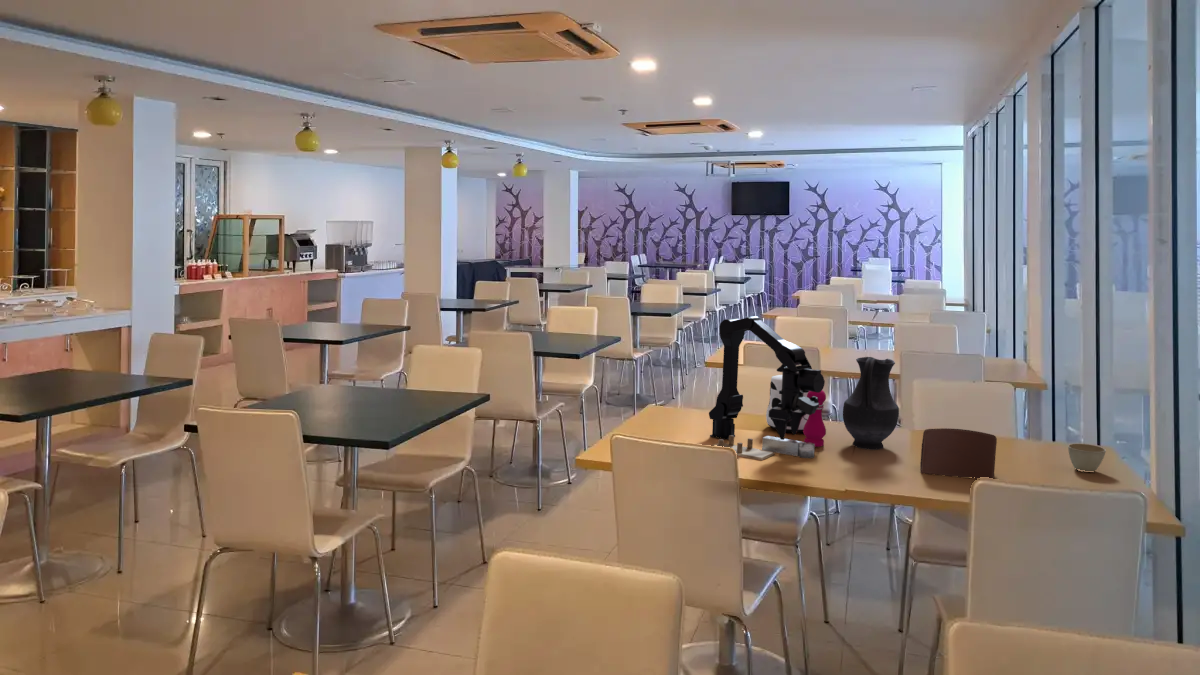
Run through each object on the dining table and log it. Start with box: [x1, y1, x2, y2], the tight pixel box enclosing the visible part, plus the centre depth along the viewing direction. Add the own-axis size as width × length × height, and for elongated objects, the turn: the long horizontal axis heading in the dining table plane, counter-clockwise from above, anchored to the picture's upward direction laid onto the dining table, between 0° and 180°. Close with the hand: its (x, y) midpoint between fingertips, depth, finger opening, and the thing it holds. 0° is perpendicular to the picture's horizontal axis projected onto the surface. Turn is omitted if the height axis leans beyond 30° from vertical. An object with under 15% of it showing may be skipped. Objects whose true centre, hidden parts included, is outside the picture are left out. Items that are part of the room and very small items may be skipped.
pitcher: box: [842, 356, 900, 451], centre depth 299 cm, size 17×21×30 cm
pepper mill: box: [803, 389, 827, 448], centre depth 302 cm, size 7×7×20 cm
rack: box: [713, 435, 776, 461], centre depth 290 cm, size 19×9×4 cm, turn 55°
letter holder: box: [919, 427, 998, 480], centre depth 272 cm, size 10×20×14 cm, turn 71°
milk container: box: [765, 374, 809, 433], centre depth 323 cm, size 17×17×18 cm
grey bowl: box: [1067, 443, 1107, 472], centre depth 278 cm, size 10×10×7 cm
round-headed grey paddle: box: [761, 435, 815, 459], centre depth 291 cm, size 16×5×4 cm, turn 55°
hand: (788, 436), depth 291 cm, fingers open, 9 cm apart
